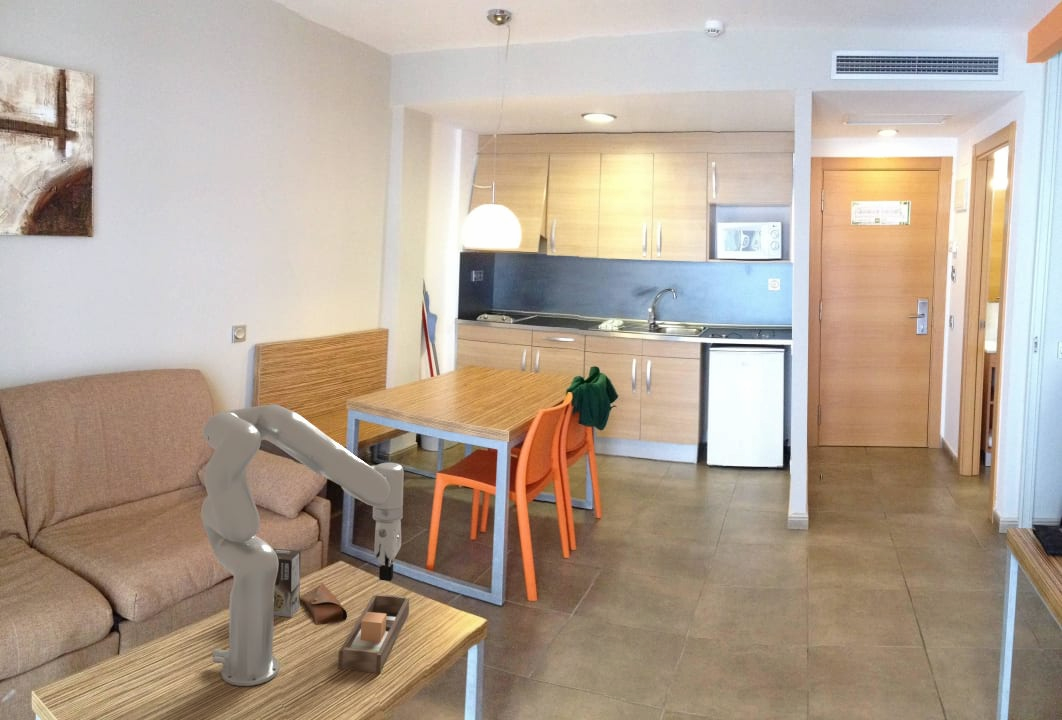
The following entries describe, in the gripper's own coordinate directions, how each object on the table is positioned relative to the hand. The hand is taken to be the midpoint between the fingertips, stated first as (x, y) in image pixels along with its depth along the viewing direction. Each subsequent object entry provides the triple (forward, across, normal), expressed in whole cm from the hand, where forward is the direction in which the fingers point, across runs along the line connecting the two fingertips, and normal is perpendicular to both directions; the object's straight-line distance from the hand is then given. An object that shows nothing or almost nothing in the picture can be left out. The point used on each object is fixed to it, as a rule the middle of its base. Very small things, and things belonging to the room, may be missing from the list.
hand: (386, 579), depth 205 cm
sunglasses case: (+14, +7, +19) cm, 25 cm away
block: (+11, -10, +1) cm, 14 cm away
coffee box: (+13, +3, +30) cm, 33 cm away
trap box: (+13, -7, +1) cm, 15 cm away
